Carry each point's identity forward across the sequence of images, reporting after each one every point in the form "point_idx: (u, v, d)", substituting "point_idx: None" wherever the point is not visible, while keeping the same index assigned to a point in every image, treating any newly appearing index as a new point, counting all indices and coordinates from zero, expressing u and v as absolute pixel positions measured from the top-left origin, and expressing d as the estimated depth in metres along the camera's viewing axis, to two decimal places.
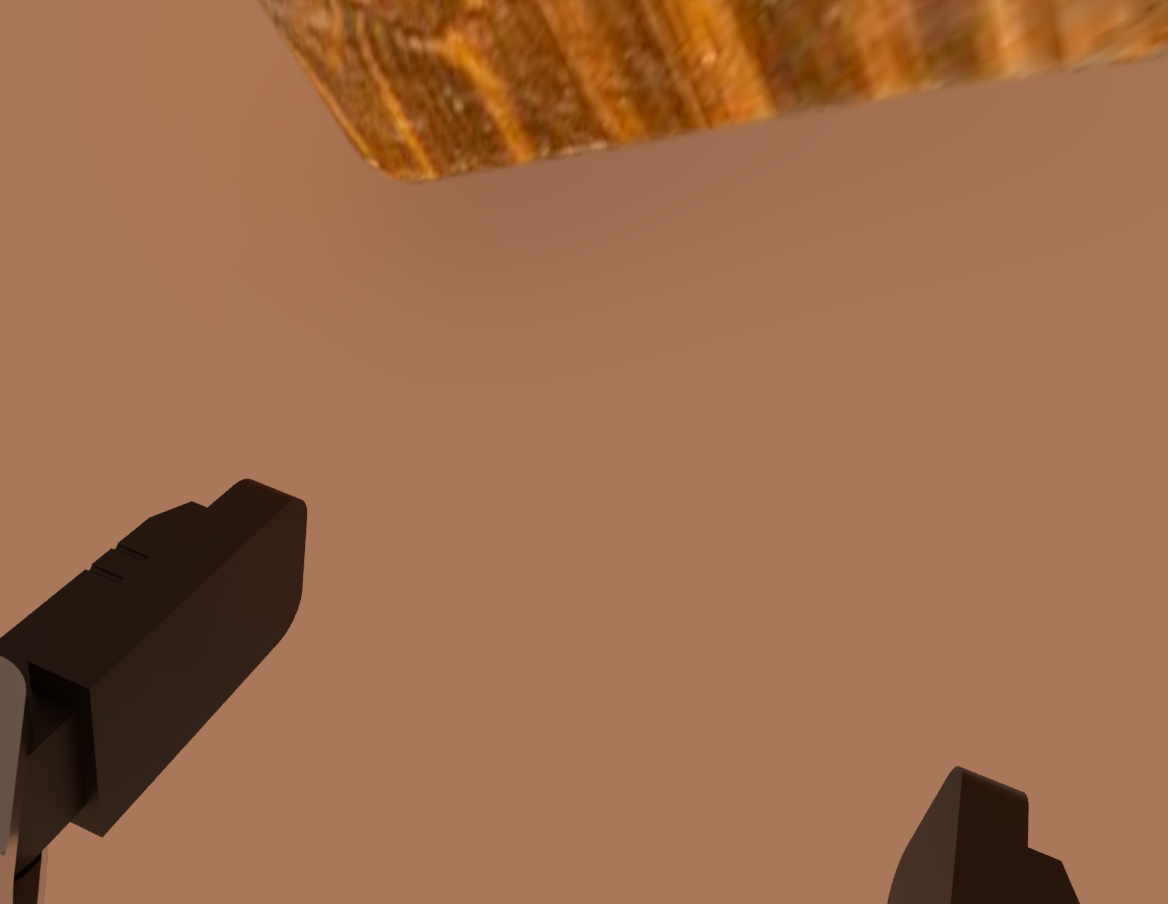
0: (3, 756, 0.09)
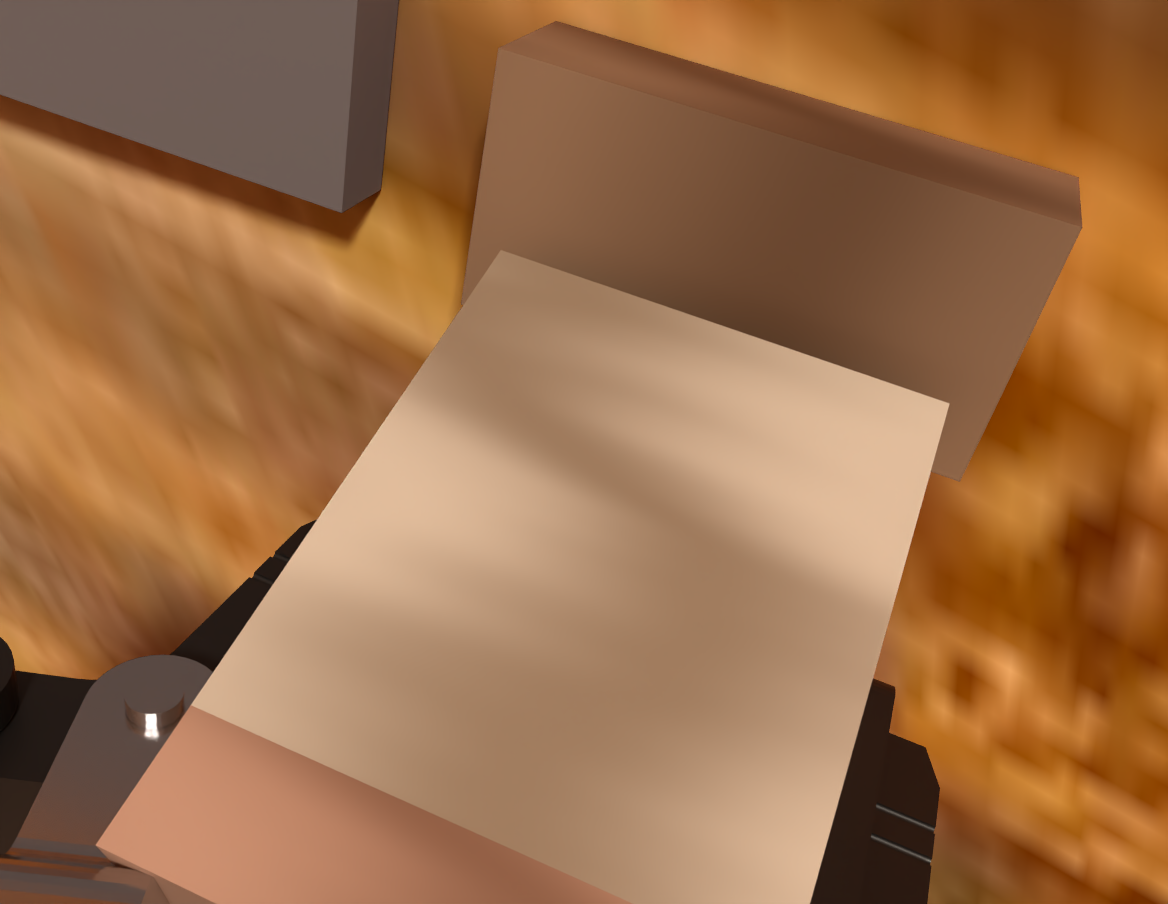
0: None
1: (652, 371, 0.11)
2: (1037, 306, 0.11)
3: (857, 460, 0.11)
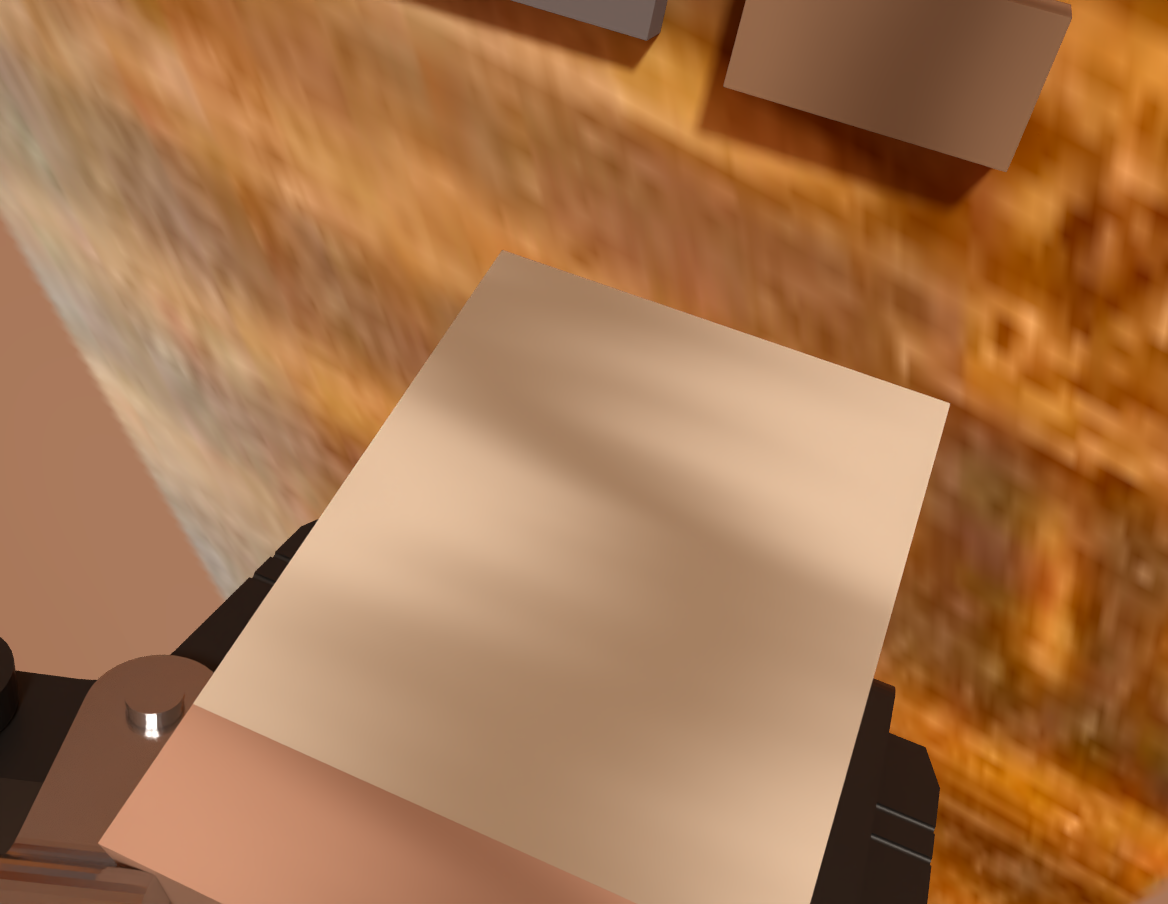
0: None
1: (654, 371, 0.11)
2: (1049, 63, 0.21)
3: (858, 460, 0.11)
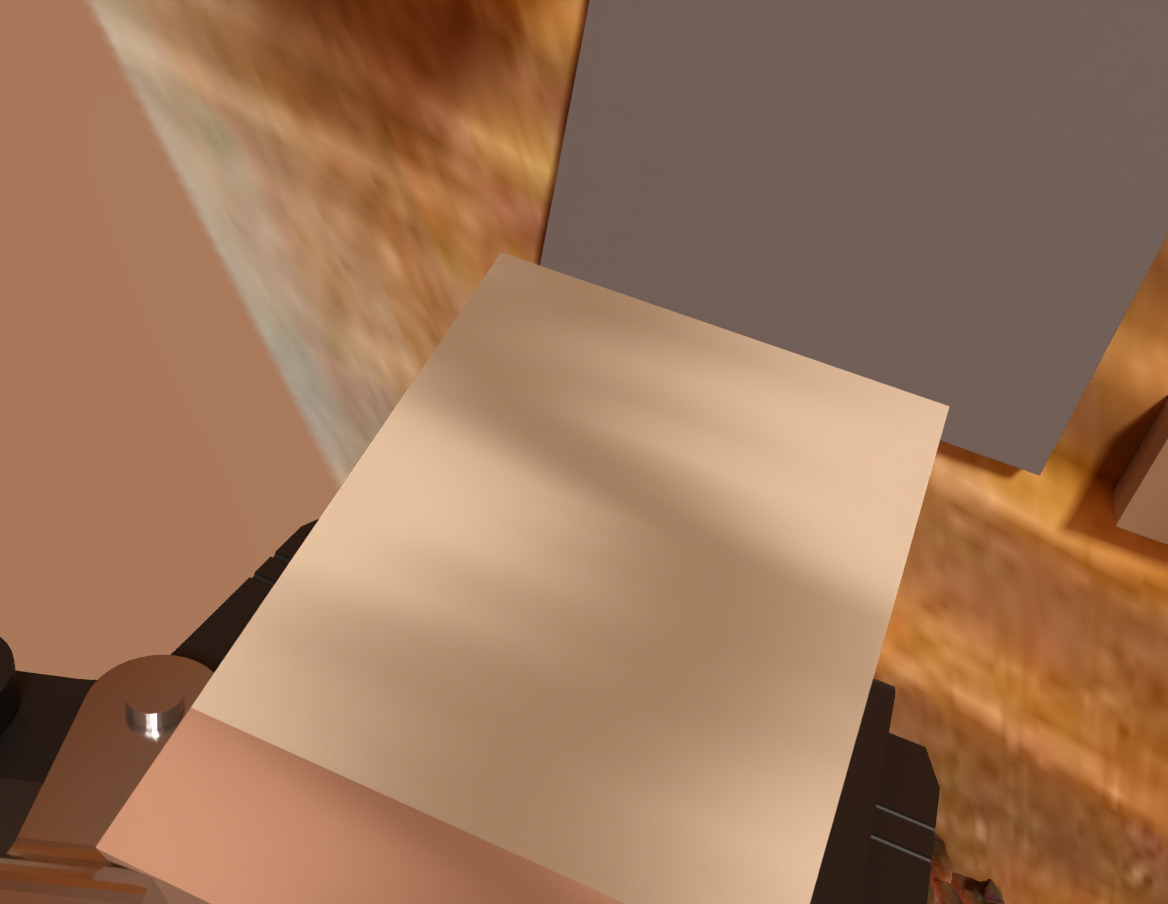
0: None
1: (653, 373, 0.11)
2: None
3: (857, 463, 0.11)
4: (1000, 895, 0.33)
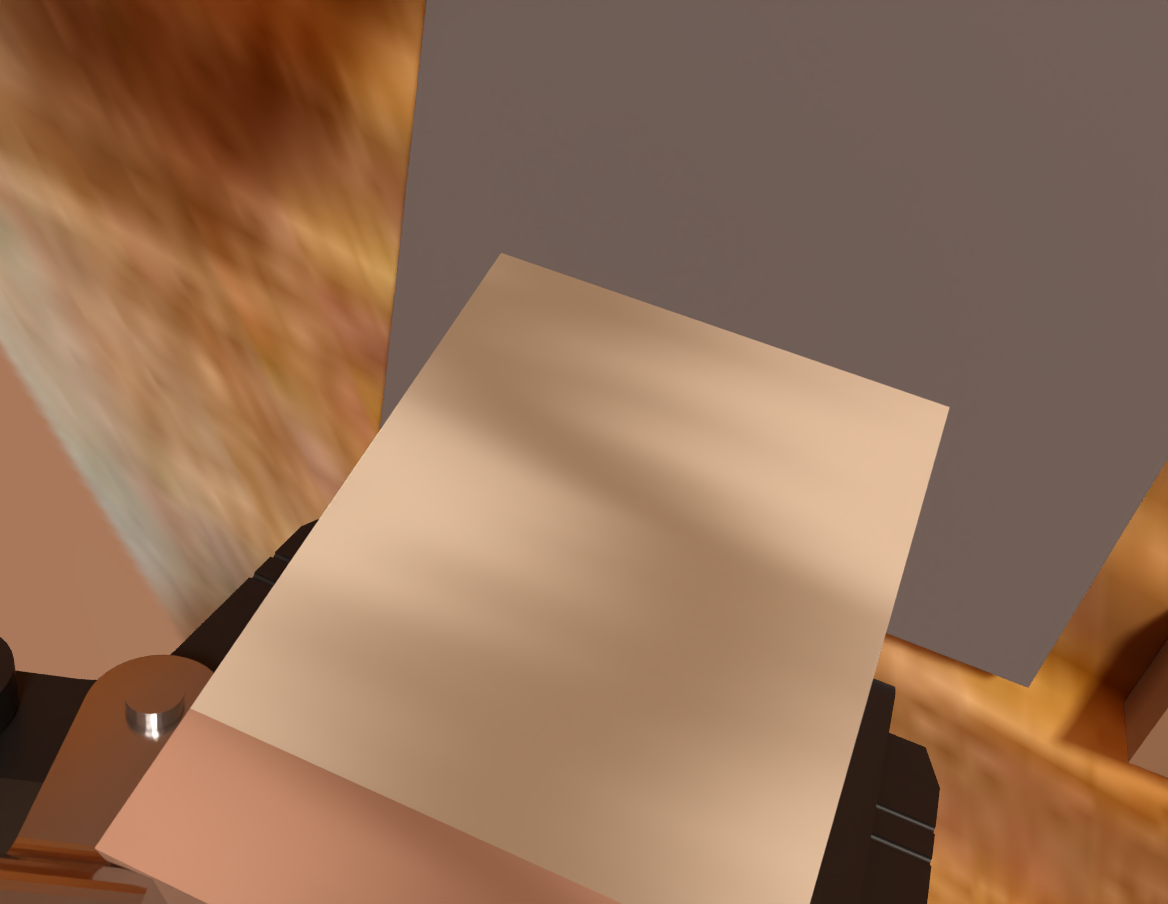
0: None
1: (653, 374, 0.11)
2: None
3: (857, 464, 0.11)
4: None
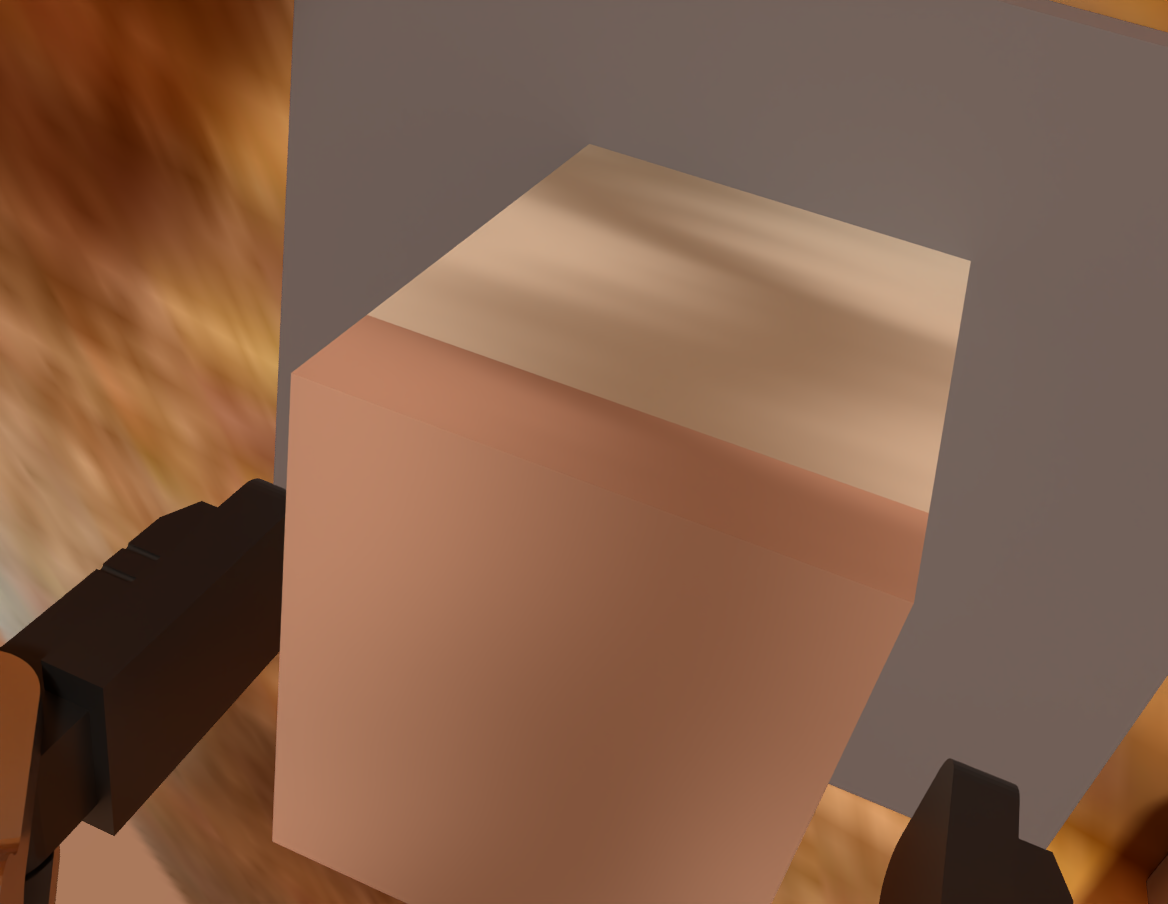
0: (18, 754, 0.09)
1: (728, 213, 0.13)
2: None
3: (906, 276, 0.13)
4: None
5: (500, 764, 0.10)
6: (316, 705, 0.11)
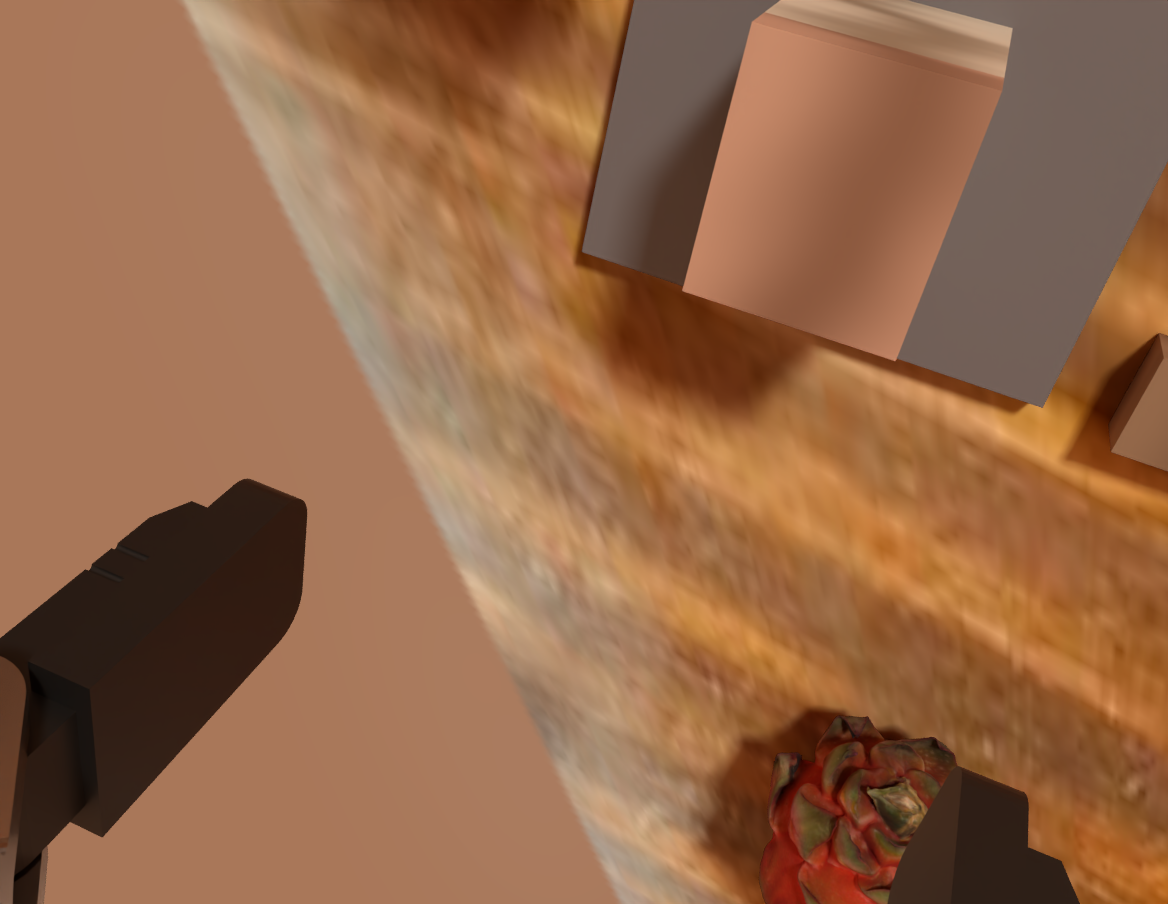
0: (3, 755, 0.09)
1: (892, 2, 0.27)
2: None
3: (982, 28, 0.26)
4: None
5: (814, 212, 0.23)
6: (726, 198, 0.24)
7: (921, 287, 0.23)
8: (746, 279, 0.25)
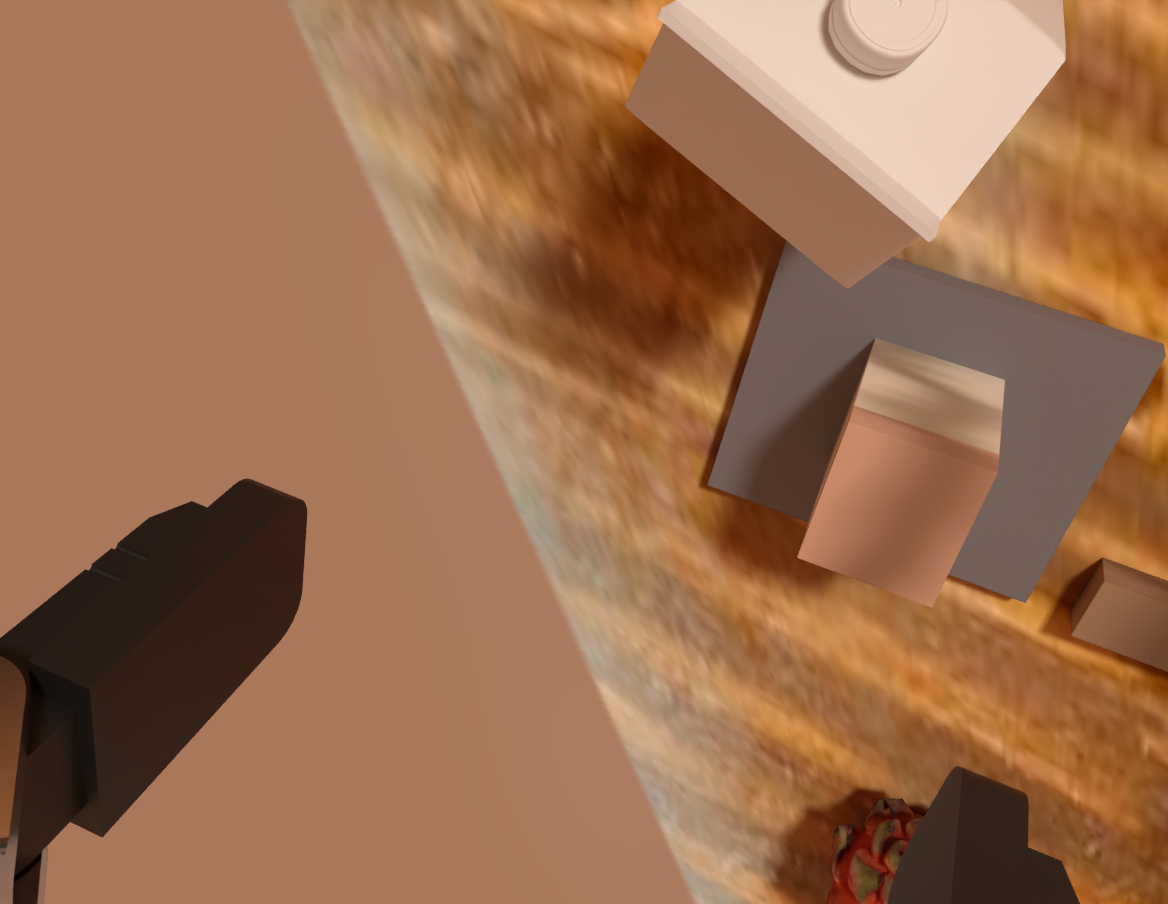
0: (2, 756, 0.09)
1: (927, 365, 0.42)
2: None
3: (985, 386, 0.41)
4: None
5: (883, 523, 0.38)
6: (828, 510, 0.39)
7: (948, 569, 0.38)
8: (838, 555, 0.40)
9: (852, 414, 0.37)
